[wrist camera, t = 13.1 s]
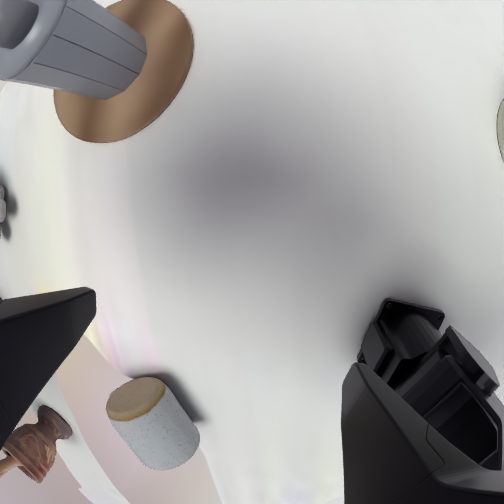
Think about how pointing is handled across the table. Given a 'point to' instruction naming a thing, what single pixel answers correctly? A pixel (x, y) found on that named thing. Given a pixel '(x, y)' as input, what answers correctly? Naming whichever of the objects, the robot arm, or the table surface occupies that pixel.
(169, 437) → the ceramic mug
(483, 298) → the table surface
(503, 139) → the can
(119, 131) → the cheese board
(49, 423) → the mortar and pestle
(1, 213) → the chubby cartoon animal
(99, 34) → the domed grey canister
